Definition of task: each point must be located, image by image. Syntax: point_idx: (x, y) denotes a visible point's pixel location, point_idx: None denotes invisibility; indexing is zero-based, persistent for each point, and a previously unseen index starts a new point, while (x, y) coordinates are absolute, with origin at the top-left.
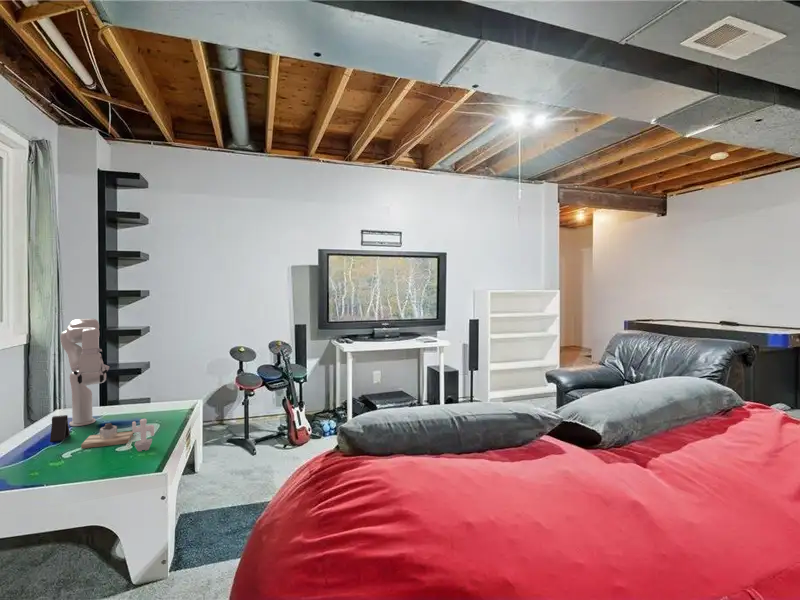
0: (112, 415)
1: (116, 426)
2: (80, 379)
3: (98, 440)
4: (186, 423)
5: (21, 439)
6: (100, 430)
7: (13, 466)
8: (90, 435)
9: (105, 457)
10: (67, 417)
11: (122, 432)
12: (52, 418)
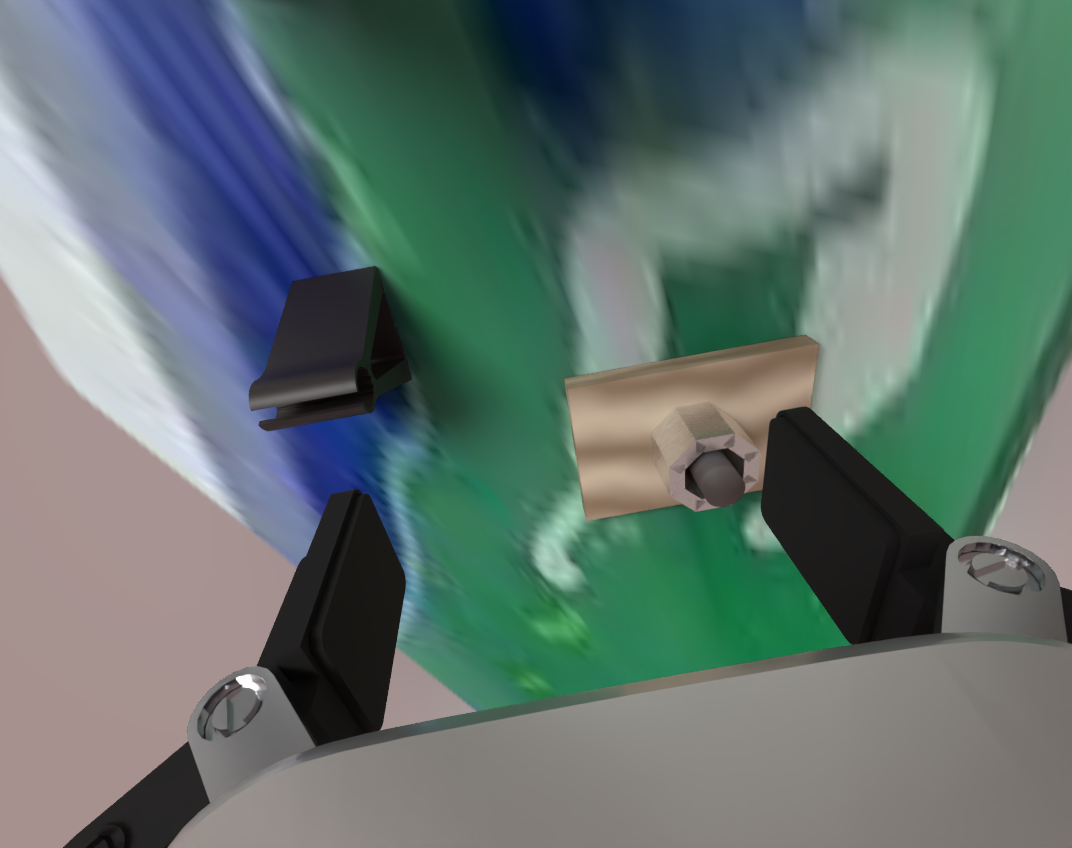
0: None
1: (758, 456)
2: (389, 646)
3: (652, 479)
4: None
5: (81, 311)
6: (674, 497)
7: (410, 637)
8: (572, 392)
9: (721, 599)
10: (357, 364)
11: (754, 365)
12: (273, 429)
